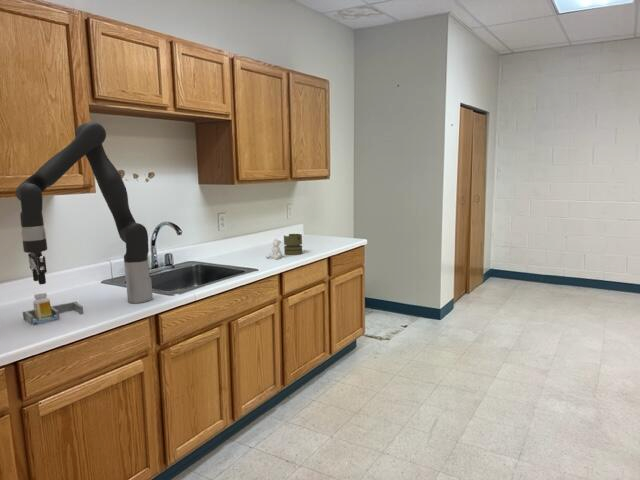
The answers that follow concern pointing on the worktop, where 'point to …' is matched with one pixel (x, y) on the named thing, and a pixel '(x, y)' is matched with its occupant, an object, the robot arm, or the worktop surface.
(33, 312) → the grey two-tier shelf
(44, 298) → the supplement bottle
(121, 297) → the worktop surface
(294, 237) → the olive green ridged block
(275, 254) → the seated beast figurine
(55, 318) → the light blue flat bar
